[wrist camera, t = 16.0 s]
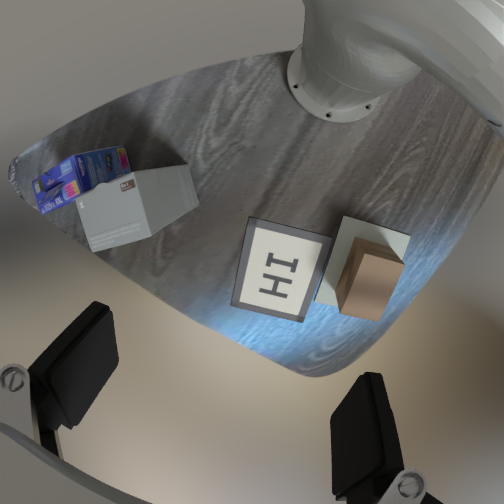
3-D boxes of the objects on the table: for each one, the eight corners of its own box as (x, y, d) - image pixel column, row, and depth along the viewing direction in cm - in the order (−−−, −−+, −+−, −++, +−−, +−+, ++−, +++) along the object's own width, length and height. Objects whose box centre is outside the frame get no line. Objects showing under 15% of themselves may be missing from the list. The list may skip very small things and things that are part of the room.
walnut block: (354, 236, 37) (364, 253, 32) (391, 247, 37) (405, 264, 31) (334, 291, 41) (339, 313, 35) (369, 299, 41) (378, 321, 35)
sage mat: (342, 213, 37) (343, 215, 36) (408, 234, 37) (410, 236, 36) (314, 298, 43) (314, 301, 42) (375, 311, 42) (376, 314, 41)
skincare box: (154, 218, 41) (91, 261, 26) (140, 174, 38) (68, 198, 24) (203, 205, 39) (153, 245, 24) (189, 157, 36) (128, 170, 22)
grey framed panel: (250, 215, 39) (249, 217, 38) (332, 235, 39) (333, 238, 38) (232, 302, 45) (230, 305, 44) (302, 319, 45) (302, 322, 44)
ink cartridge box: (90, 196, 41) (29, 222, 27) (81, 166, 39) (17, 183, 25) (134, 177, 38) (70, 199, 25) (125, 144, 37) (58, 153, 23)
